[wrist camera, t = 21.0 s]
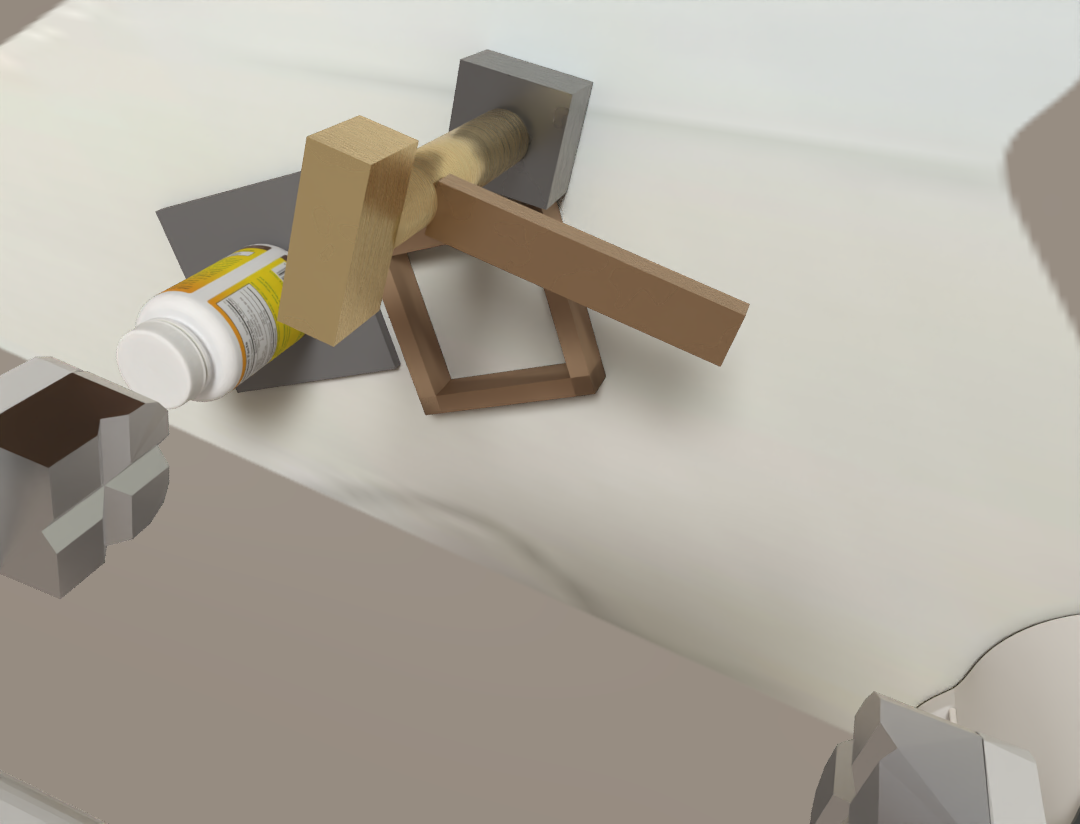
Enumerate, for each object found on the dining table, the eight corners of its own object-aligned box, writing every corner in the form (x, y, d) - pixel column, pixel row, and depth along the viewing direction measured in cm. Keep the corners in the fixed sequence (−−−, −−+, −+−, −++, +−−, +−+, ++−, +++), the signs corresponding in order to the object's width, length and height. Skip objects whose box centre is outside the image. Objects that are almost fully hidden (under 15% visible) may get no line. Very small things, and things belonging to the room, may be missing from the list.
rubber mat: (400, 364, 50) (395, 368, 50) (243, 388, 55) (237, 392, 54) (326, 164, 46) (319, 167, 46) (162, 208, 51) (155, 211, 50)
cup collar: (606, 376, 47) (595, 393, 45) (441, 398, 51) (425, 415, 49) (553, 189, 43) (539, 201, 41) (380, 229, 47) (361, 241, 45)
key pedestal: (487, 49, 41) (460, 59, 38) (593, 82, 40) (572, 94, 38) (468, 158, 44) (441, 175, 41) (566, 191, 43) (546, 209, 40)
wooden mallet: (459, 191, 41) (271, 317, 29) (494, 56, 38) (300, 133, 25) (736, 313, 39) (662, 501, 27) (800, 183, 36) (747, 330, 24)
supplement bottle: (223, 303, 52) (90, 383, 43) (247, 220, 49) (109, 289, 40) (307, 356, 51) (190, 447, 43) (337, 276, 48) (217, 357, 40)
